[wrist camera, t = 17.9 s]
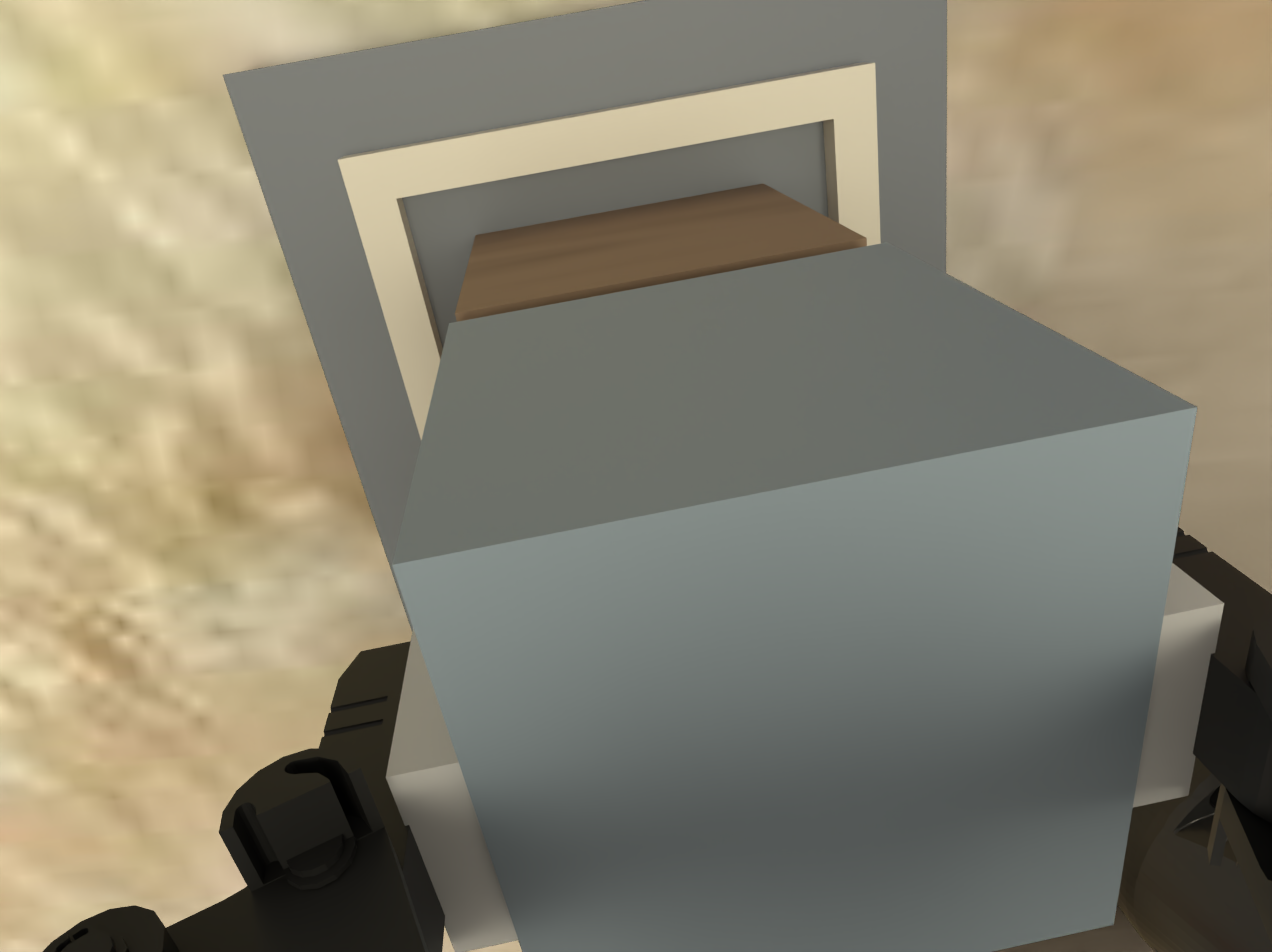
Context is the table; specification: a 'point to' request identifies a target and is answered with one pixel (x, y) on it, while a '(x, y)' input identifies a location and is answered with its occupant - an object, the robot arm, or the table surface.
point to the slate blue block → (794, 609)
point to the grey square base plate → (571, 162)
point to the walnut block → (642, 248)
